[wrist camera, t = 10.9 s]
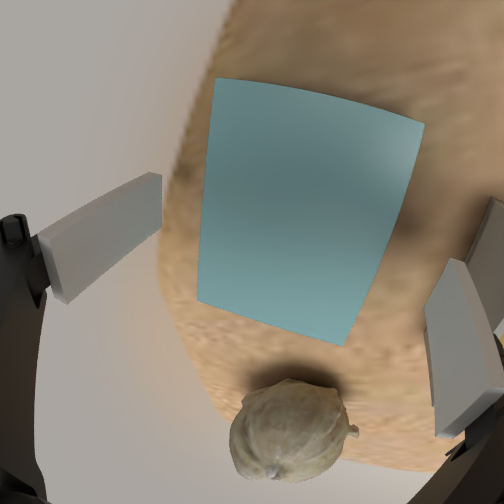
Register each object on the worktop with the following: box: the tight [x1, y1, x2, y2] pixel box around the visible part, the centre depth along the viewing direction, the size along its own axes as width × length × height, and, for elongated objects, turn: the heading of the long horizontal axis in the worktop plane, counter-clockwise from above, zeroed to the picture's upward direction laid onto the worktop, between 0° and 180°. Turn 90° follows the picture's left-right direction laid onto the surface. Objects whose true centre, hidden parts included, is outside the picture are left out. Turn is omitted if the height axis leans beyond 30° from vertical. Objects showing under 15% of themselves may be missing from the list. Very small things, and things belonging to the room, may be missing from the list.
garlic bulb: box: [229, 378, 359, 483], centre depth 20 cm, size 9×8×10 cm
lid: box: [197, 77, 425, 346], centre depth 16 cm, size 13×9×3 cm
